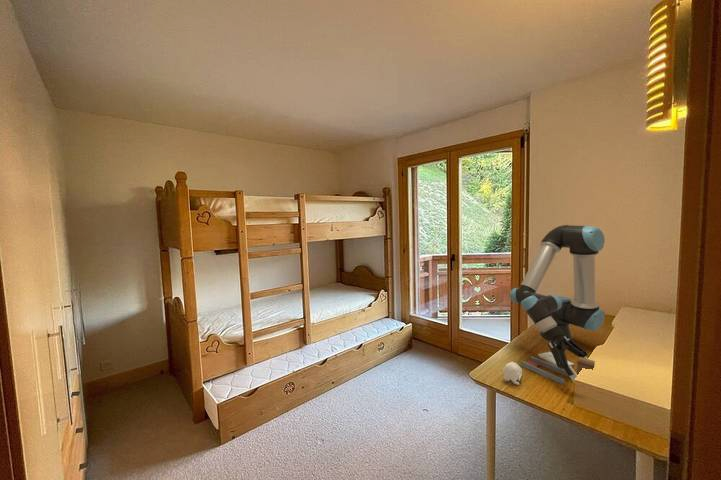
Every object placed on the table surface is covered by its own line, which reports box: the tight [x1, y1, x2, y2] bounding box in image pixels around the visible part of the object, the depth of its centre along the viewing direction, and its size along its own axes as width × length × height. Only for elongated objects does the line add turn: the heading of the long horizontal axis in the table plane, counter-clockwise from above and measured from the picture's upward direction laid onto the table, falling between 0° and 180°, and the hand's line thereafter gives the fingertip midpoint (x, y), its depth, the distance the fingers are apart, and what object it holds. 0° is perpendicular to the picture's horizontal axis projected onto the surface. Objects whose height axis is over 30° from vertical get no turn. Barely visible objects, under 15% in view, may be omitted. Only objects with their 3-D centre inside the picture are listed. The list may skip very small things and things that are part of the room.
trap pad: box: [526, 360, 540, 367], centre depth 137 cm, size 6×4×1 cm
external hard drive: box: [537, 351, 575, 369], centre depth 141 cm, size 2×8×12 cm
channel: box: [519, 355, 571, 385], centre depth 131 cm, size 9×18×2 cm, turn 31°
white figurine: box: [502, 361, 524, 386], centre depth 125 cm, size 6×8×12 cm
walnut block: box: [576, 357, 596, 375], centre depth 120 cm, size 5×5×11 cm
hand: (587, 378), depth 118 cm, fingers open, 13 cm apart
